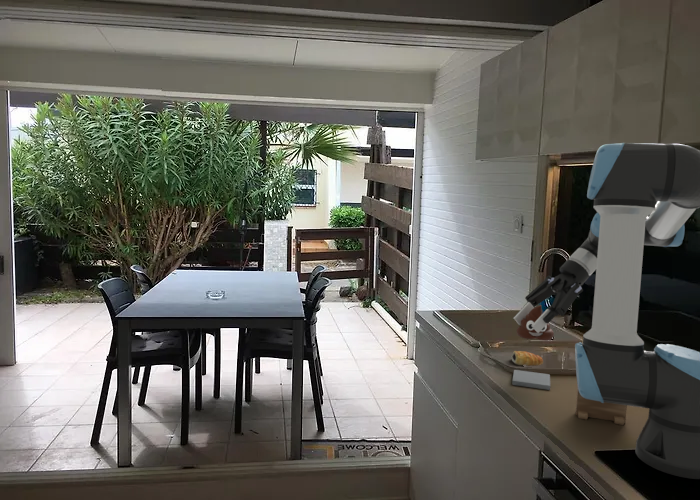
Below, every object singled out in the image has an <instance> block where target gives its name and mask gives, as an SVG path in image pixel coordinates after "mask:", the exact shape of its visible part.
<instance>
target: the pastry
mask: <svg viewBox="0 0 700 500" xmlns="http://www.w3.org/2000/svg"><path fill="white" fill-rule="evenodd" d="M510 357H511V362H513V363H514V364H515V365H517V366H527V367H530V366H531V367H534V366H536V367H537V366H540V365H543V364H544V359H543V357H542V356H540V355H539V354H535V353H533V352H528V351H526V350H524V351H523V350H522V351H521V350H518V351H517V350H514V351H513V353H512V355H511V356H510Z"/></svg>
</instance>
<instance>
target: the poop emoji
mask: <svg viewBox="0 0 700 500" xmlns="http://www.w3.org/2000/svg"><path fill="white" fill-rule="evenodd" d="M542 314H543V309H542V305H541V304H540V305H539V304H538V305H536V306H535V308H533V309H532V310H531V311H530V312H529V314H527V315H526V317H525V318H524V319H522V321H521V325H519V326H518V327H517V328H516V334H517V336H518V337H520V338H522V339H524V340H525V339H526V340H533V339H534V340H535V339H536V340H539V341H551V340H552V339H553V338H554V336H555V334H554V333H555V332H554V330H553V329H552V328H551V325H550V322H549V323H548V324H546V326H545V327H544V328H543V329H542V330H541V331H540V332H539V333H537V332H536V331H535V330H534V328H533V327H532V325H533V324H534V322H535V321H536V320H537V319H538V318H539V317H540V316H541V315H542Z"/></svg>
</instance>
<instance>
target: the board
mask: <svg viewBox="0 0 700 500" xmlns="http://www.w3.org/2000/svg"><path fill="white" fill-rule="evenodd" d="M511 384H512V385H513V386H518V387H519V386H520V387H527V388H533V389H540V390H547V391H550V390H551V375H550V374H548V373H542V372H541V373H540V372H536V371H534V372H533V371H527V370H519V369H514V370H513V375H512V382H511Z"/></svg>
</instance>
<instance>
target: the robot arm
mask: <svg viewBox="0 0 700 500" xmlns="http://www.w3.org/2000/svg"><path fill="white" fill-rule="evenodd" d="M586 197H587V199H589V200H593V209H594V210H595V211H596V213H595V214H594V216H593V218H592V221H591V222H590V228H589V229H590V230H589V232H588V236H587V238H586V239H585V240H584V242H583V243H582V244H581V245H580V246H579V247H578V248H577V249H576V250H575V251H574V252H573V253H572V254H571V255H570V256H569V257H568V260H566V261H565V262H564V263H563V264H562V265H561V266H560V267H559V273H558V275H556V276H554V277H552V276H551V275H547V276H546V278H545V279H544V280H543V281H542V282H541V283H540V284H538V286H536V287H535V288H534V289H533V290H532V291H531V292H530V293H528V294H527V295H526V296H525V297H524V298H525V300H526V301H527V302H526V303H525V304H524V305H523V307H521V309H520V310H519V311H518V312H517V313H516V315H515V316H513V319H514V321H516V323H517V325H519V326H521V321H522V319H524V318H525V317H526V315H527V314H529V312H530V311H531V310H532V309H533V308H535V307H537V306H539V304H541V303H542V302H544V301H545V300H547V299H548V298H550V297H551V296H555V298H554V300H553V302H552V304H551V306H548V308H547V309H545V311H543V312H542V315H541V316H540V317H539V318H538V319H537V320H536V321H535V322H534V324H533V325H532V327H533V328H534V330H535V331H536V332H537V333H539V332H540V331H541V330H542V329H543V328H544V327H545V326H546V324H548V323H549V324H550V322H551V321H553V319H554V318H555V317H557V316H561V317H563V316H564V315H565V314H566V313H567V311H568V310H569V308H570V307H571V306H572V304H573V303H574V301H575V300H576V299H577V297H578V296H579V295H580V294H581V293H583V292H584V289H583V287H582V286H583V285H584V283H586V281H587V280H589V278H590V277H591V276H592V274H593V273H594V272H595V281H594V296H593V307H592V320H591V321H592V322H591V327H590V329H589V330H588V331H586V332H585V333H583V334H582V335H583V337H582V342H580V341H579V342H576V343H575V345H574V348H575V350H574V351H575V352H574V353H575V354H574V355H575V356H574V357H575V371H576V372H575V374H576V384H577V389H578V391H579V393H580V395H581V396H582V397H583V398H585V399H590V400H595V401H600V402H601V403H604V402H606V403H613V404H621V405H627V407H635V408H636V407H637V408H643V409H648V417H647V420H646V421H645V424H644V426H643V427H642V429H641V431H640V432H639V435H638V437H637V439H636V442H635V455H636V456H637V458H638V459H639V460H640V461H642V462H643V463H644V464H645V465H647V466H649V467H652V468H653V469H655V470H657V471H660V472H663V473H666V474H669V475H672V476H675V477H680V478H685V479H693V480H700V351H697V350H695V349H691V348H689V347H688V348H687V347H684V346H681V345H675V344H669V343H665V344H663V343H660V344H659V343H658V344H657V345H655V347H654V348H653V351H652V350H645V341H644V340H643V339H642V338H641V337H640V336H639V334H638V333H637V331H638V320H639V309H640V307H639V306H640V296H641V295H640V294H641V293H640V292H641V283H642V282H641V281H642V271H643V268H642V267H643V258H644V257H643V256H644V246H654V247H663V248H667V247H677V248H678V247H679V246H681V245H682V244H683V240H684V237H685V229H686V228H685V223H686V222H687V221H688V219H689V218H690V217H691V216H692V215H693V214H694V212H695V211H696V210H697V209H699V208H700V149H697V148H695V147H693V146H690V145H685V144H680V143H642V142H641V143H639V142H638V143H637V142H636V143H635V142H620V143H606V144H603V145H601V146H600V147H599V148H598V149H597V151H596V154H595V157H594V160H593V163H592V168H591V171H590V176H589V181H588V187H587V194H586Z"/></svg>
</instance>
